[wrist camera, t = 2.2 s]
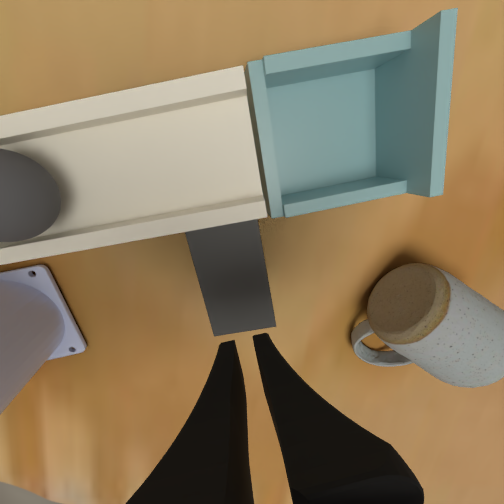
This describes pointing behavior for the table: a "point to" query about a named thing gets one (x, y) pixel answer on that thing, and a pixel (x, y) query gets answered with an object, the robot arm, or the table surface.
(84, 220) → the cream piece
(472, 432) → the table surface
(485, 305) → the ceramic mug
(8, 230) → the ball
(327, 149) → the bin
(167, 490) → the robot arm
